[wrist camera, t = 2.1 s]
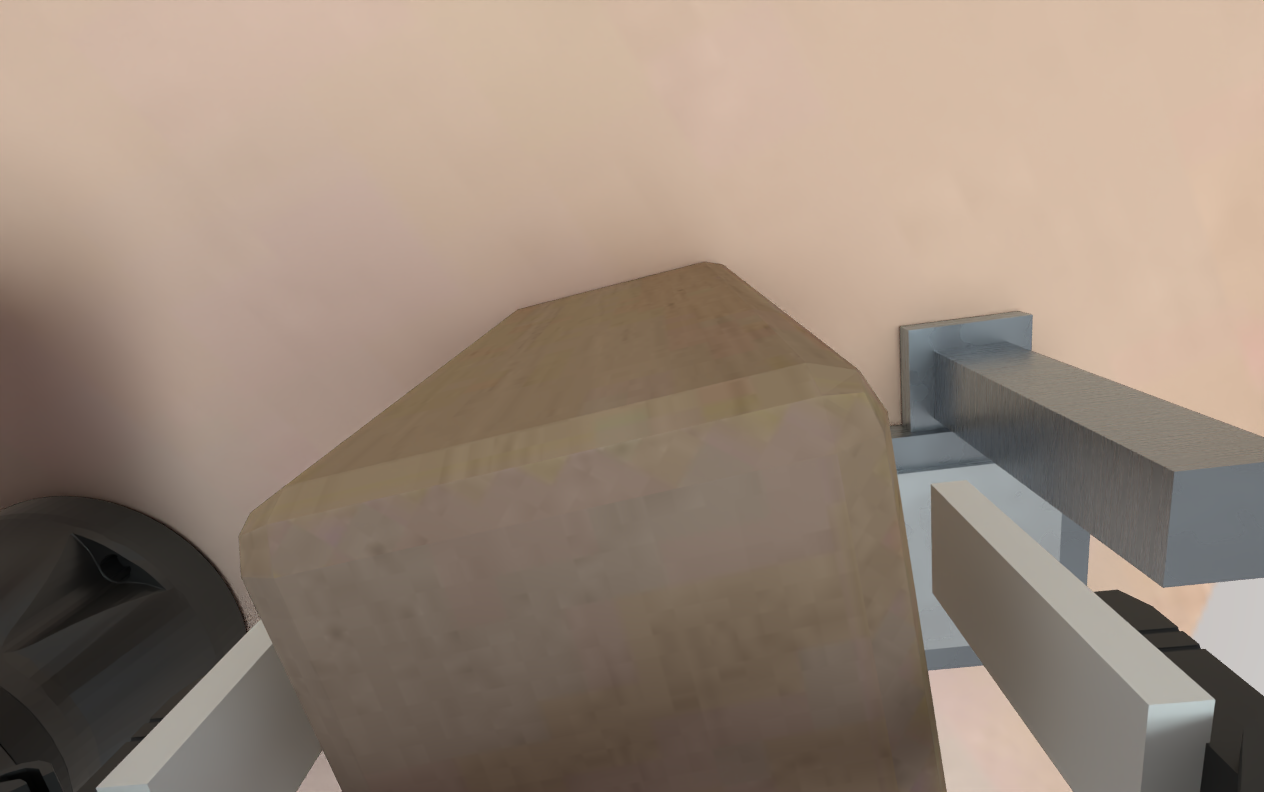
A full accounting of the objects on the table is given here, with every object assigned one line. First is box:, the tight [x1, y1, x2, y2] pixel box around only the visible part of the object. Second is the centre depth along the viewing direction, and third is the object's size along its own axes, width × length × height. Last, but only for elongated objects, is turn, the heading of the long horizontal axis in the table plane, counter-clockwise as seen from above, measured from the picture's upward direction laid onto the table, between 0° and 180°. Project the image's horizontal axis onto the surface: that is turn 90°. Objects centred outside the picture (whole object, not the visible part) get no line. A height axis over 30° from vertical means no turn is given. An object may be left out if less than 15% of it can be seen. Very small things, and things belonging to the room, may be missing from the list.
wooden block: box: [239, 262, 947, 792], centre depth 19 cm, size 10×10×20 cm
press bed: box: [890, 311, 1264, 670], centre depth 24 cm, size 20×21×14 cm
